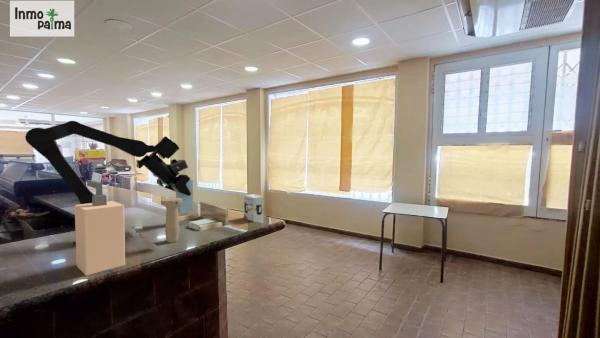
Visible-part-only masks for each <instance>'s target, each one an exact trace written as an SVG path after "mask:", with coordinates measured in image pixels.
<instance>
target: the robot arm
mask: <svg viewBox="0 0 600 338" xmlns="http://www.w3.org/2000/svg"><path fill="white" fill-rule="evenodd" d="M71 135H77V136H79V137H83V138H85V139H89V140H92V141H95V142H98V143H102V144H105V145H108V146H111V147H114V148H116V149H118V150H120V151H122V152H124V153H126V154H128V155H129V156H131V157H136V158H140V159H136V160H135V161H136V168H138V169H141V168H143V167H145V168H146V169H147V170H148V171H150V173H151V174H152V176H153V177H155V178H157V179H156V184H157V185H158V186H159V187H160V188H163V187H164V189H168V190H170V191H173V192H175V193H176V191H177V192H180V193H182V194H185V195H188V196H190V195H191V193H190V191H189V189H188V187H187V186H186V183H187V182H188V181H189V180H191V177H189V176H188V174H181V173H180V172H181V171H184V170H187V169H188V168H189V166H188V164H187V162H186V160H185V159H178V160H177V159H174V158H173V159H171V160H170V164H169V163H166V162H165V161H164V160H165V159H167V160H169V159H170V158H171V157H172V156H174V154H175V153H177V152H178V151H179V150H180V146H179V145H178V144H177V143H176V142H175V141H173V140H171V139H170V138H168V137H167V136H164V137H162V138H161V139H160V140H159V141H158V142H157V143H156V144H155V145H153V144H151V145H150V144H149V145H148V144H147V143H146V142H145V141H143V140H139V139H133V138H128V137H127V138H126V137H120V136H117V135H114V134H112V133H108V132H105V131H103V130H100V129H97V128H94V127H91V126H89V125H87V124H86V125H85V124H83V123H80V122H79V121H75V120H68V121H67V122H64V123H60V124H57V125H54V126H50V127H47V128H42V127H33V128H31V129H29V130H28V131H27V132H26V134H25V138H24V139H25V141H26V142H27V144H28V145H29V146H31V147H32V148H33V149H34V150H35V151H36V152H37V153H39V154H40V155H41V156H43V157H44V158H45V159H46V160H47V161H48V162H49V163H50V165H51V166H52V167H53V169H54V170H55V171H56V172H57V173H58V175H59V176H60V178H61V179H62V180H63V181H64V182H65V183H66V185H67V186H68V187H69V188H70V189H71V191H72V193H74V196H76V197H77V199H78V201H79V204H88V203H92V195H96V193H93V192H92V191H91V190H90V189H89V187H88V186H87V184H86V183H85V182H84V181H83V180H82V179H81V176H79V174H78V173H77V172H76V171H75V169H74V168H73V167H72V166H71V164H70V163H69V161H68V160H67V159H66V158H65V156H64V155H63V154H62V151H61V149H60V147H59V145H58V143H57V141H58V140H60V139H63V138H66V137H69V136H71ZM148 153H150V154H149V155H148ZM161 158H162V159H161ZM164 185H165V186H164ZM72 244H73V245H76V240H74V241H72Z"/></svg>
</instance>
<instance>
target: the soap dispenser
mask: <svg viewBox="0 0 600 338" xmlns="http://www.w3.org/2000/svg"><path fill="white" fill-rule="evenodd" d="M86 186H87V187H88V188H89V187H90V188H93V189H95V194H96V195H92V203H88V204H80V203H79V204H74V224H75V229H74V230H75V241H76V244H75V255H76V256H75V258H76V267H77V268H78V270H80V271H81V272H82V273H83V275H84V276H89V275H93V274H97V273H101V272H105V271H108V270H109V271H110V270H113V269H115V268H119V267H123V266H126V250H125V249H126V245H125V242H126V240H125V237H126V236H125V205H124V204H122V203H120V202H117V201H115V200H110V201H109V200H107V195H106V194H104V193H103V182H100V181H96V180H93V179H91V180H89V179H88V180H86Z"/></svg>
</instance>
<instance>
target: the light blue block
mask: <svg viewBox="0 0 600 338" xmlns="http://www.w3.org/2000/svg"><path fill="white" fill-rule="evenodd" d="M193 184H194V181H193V179H190V180H189V181H188V182H187V183H186V186H187V187H188V189H189V191H190V193H191V195H190V196H188V195H185V194H182V193H180V192H177V191H176V192H175V198H182V199H183V203H181V204H180V205H179V206H178V213H182V214H183V213H189V212H193V210H194V207H193V205H194V201H193V199H194V191H193V190H194V185H193Z"/></svg>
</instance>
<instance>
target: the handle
mask: <svg viewBox="0 0 600 338" xmlns="http://www.w3.org/2000/svg"><path fill="white" fill-rule="evenodd" d="M181 203H183V199H182V198H176V197H172V198H171V197H168V198H163V199H160V204H161V205H162V206H164V207H165V210H166V212H165V239H166V242H167V243H176V242H178V240H179V235H180V223H179V222H180V221H179V220H178V217H179V212H178V206H179V205H180V204H181Z"/></svg>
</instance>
